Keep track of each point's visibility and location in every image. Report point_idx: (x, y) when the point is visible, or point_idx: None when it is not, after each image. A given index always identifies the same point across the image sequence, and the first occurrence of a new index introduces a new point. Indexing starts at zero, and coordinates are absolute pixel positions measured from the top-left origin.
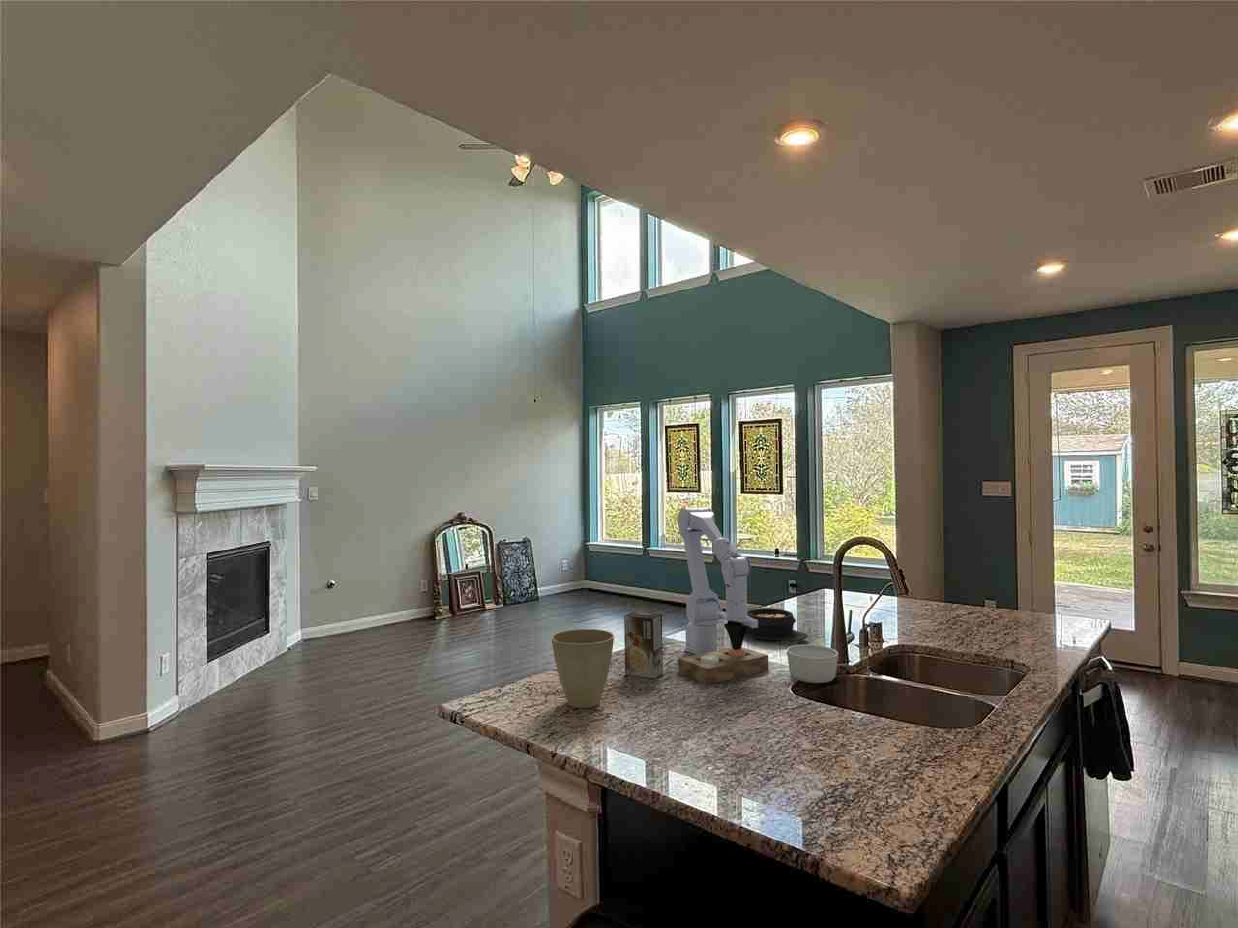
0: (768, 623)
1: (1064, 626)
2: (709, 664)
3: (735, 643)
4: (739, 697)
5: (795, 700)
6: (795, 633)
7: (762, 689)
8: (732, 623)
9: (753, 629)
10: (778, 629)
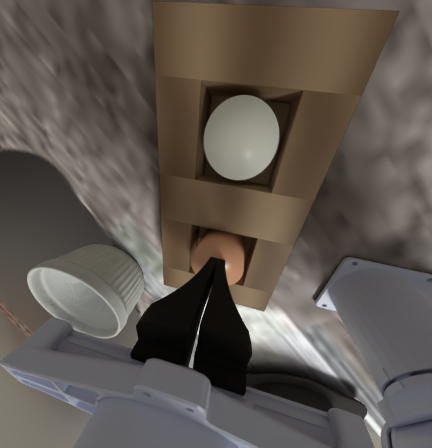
0: None
1: None
2: (198, 80)
3: (202, 267)
4: (54, 34)
5: (17, 142)
6: None
7: (89, 149)
8: (202, 358)
9: (306, 401)
10: None
